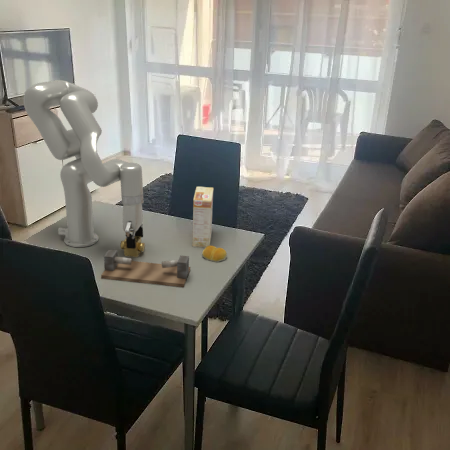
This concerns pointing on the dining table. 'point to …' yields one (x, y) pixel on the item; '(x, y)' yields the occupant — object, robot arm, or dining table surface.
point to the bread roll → (214, 253)
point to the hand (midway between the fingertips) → (135, 242)
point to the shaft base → (146, 270)
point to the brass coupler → (135, 251)
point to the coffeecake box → (202, 216)
